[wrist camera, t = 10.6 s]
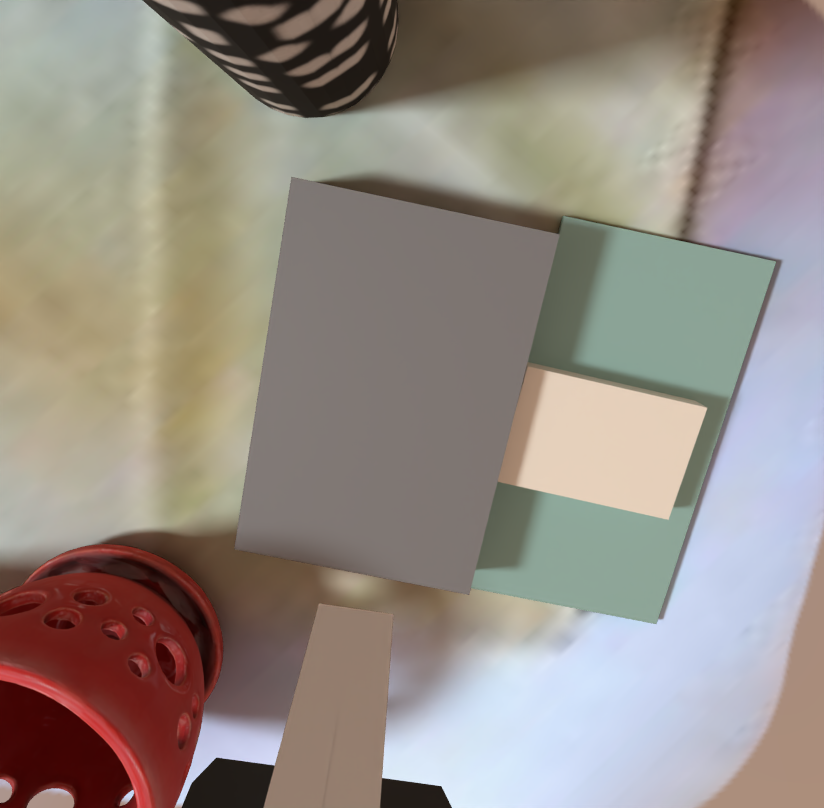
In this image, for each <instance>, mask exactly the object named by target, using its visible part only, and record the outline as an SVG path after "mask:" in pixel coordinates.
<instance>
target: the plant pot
mask: <svg viewBox="0 0 824 808" xmlns="http://www.w3.org/2000/svg"><path fill="white" fill-rule="evenodd" d="M222 661H223V639H222V632H221V629H220V625H219V621H218V618H217V615H216V613H215V611H214V608H213V606H212V604H211V602H210V601H209V599H208V598H207V596H206V594H205V593H204V591H203V590H202V589H201V587H200V586H199V585H198V584H197V583H196V582H195V581H194V580H193V579H192V578H191V577H189V576H188V575H187V574H186V573H185V572H183V571H182V570H181V569H179V568H178V567H177V566H175V565H174V564H172V563H170V562H169V561H167V560H165V559H163V558H161V557H159V556H157V555H154V554H152V553H150V552H147V551H143V550H140V549H137V548H133V547H129V546H122V545H109V544H100V545H89V546H85V547H80V548H76V549H73V550H70V551H67V552H65V553H63V554H60V555H58V556H56V557H54V558H53V559H51V560H49V561H47V562H46V563H45V564H43V565H42V566H41V567H39V568H38V569H37V570H36V571H35V572H34V573H33V574H31V575H30V576H29V578H28V579H27V580H26V581H25V582H24V584H23V585H22V586H19V587H16V588H14V589H12V590H9V591H7V592H5V593H3V594H1V595H0V779H4V780H6V781H7V782H9V783H10V785H11V786H12V795H11V798H10V799H9V800H8V801H6V802H4V803H0V808H26V807H27V805H28V803H29V801H30V800H31V799H32V798H33V797H34V796H35V795H36V794H38V793H39V792H41V791H44V790H46V789H51V788H59V789H63V790H66V791H68V792H69V793H70V794H71V795H72V796H73V798H74V807H73V808H174V807H175V805H176V803H177V800H178V798H179V796H180V793H181V791H182V788H183V785H184V783H185V780H186V777H187V775H188V772H189V769H190V766H191V763H192V759H193V755H194V751H195V748H196V744H197V741H198V737H199V733H200V729H201V723H202V716H203V707H204V703H205V701H206V700H207V699H208V697H209V696H210V694H211V692H212V691H213V689H214V687H215V685H216V683H217V680H218V678H219V674H220V671H221V666H222ZM131 790H134V795H133V797H132V798H131V800H130V801H129V802H128V803H127V804H125V805H123V806H119V805H120V802H121V800H122V799H123V798H124V796H125V795H126V794H127V793H128V792H130V791H131Z"/></svg>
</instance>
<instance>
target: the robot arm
mask: <svg viewBox="0 0 824 808" xmlns="http://www.w3.org/2000/svg"><path fill="white" fill-rule="evenodd" d="M392 628H393V614H389V613H382V612H375V611H369V610H362V609H355V608H348V607H341V606H334V605H327V604H320V603H319V605H318V609H317V612H316V616H315V620H314V623H313V627H312V631H311V634H310V638H309V642H308V645H307V649H306V653H305V657H304V660H303V664H302V668H301V671H300V675H299V679H298V682H297V686H296V690H295V693H294V697H293V701H292V704H291V708H290V712H289V716H288V719H287V723H286V727H285V730H284V734H283V738H282V741H281V745H280V749H279V752H278V756H277V760H276V763H275V766H273V765H266V764H259V763H251V762H244V761H237V760H229V759H222V758H216V759H215V760H214V761H213V762H212V763H211V764H210V765H209V766H208V767H207V768H206V769H205V770H204V771H203V772H202V773H201V774H200V775H199V776H198V777H197V778H196V779H195V780H194V781H193V782H192V784H191V786H190V789H189V791H188V794H187V796H186V799H185V801H184V803H183V806H182V808H452V807H451V805H450V803H449V801H448V799H447V797H446V795H445V793H444V791H443V789H442V787H441V786H435V785H428V784H421V783H414V782H406V781H399V780H392V779H384V778H382V770H383V756H384V742H385V727H386V713H387V699H388V685H389V671H390V656H391V642H392Z"/></svg>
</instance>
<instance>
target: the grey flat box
mask: <svg viewBox="0 0 824 808" xmlns="http://www.w3.org/2000/svg"><path fill="white" fill-rule="evenodd" d="M559 236H560V234H556V233H551V232H546V231H542V230H537V229H532V228H528V227H523V226H518V225H514V224H509V223H504V222H500V221H495V220H490V219H486V218H481V217H476V216H472V215H467V214H462V213H458V212H453V211H448V210H443V209H439V208H434V207H429V206H425V205H420V204H415V203H411V202H406V201H401V200H397V199H392V198H387V197H383V196H378V195H373V194H369V193H364V192H359V191H355V190H350V189H345V188H341V187H336V186H331V185H327V184H322V183H317V182H313V181H308V180H303V179H299V178H294V177H291V183H290V190H289V196H288V203H287V209H286V216H285V222H284V229H283V235H282V242H281V248H280V255H279V261H278V268H277V274H276V281H275V287H274V294H273V301H272V307H271V314H270V320H269V327H268V333H267V340H266V346H265V353H264V359H263V366H262V372H261V379H260V385H259V392H258V398H257V405H256V411H255V418H254V424H253V431H252V437H251V444H250V450H249V457H248V463H247V470H246V476H245V483H244V489H243V496H242V502H241V509H240V515H239V522H238V528H237V535H236V541H235V548H234V549H236V550H241V551H246V552H251V553H256V554H261V555H267V556H272V557H277V558H282V559H287V560H292V561H297V562H303V563H308V564H313V565H318V566H323V567H328V568H334V569H339V570H344V571H349V572H354V573H359V574H364V575H370V576H375V577H380V578H385V579H390V580H395V581H401V582H406V583H411V584H416V585H421V586H426V587H431V588H437V589H442V590H447V591H452V592H457V593H462V594H468V595H469V593H470V589H471V585H472V582H473V578H474V574H475V570H476V566H477V562H478V558H479V554H480V550H481V546H482V542H483V538H484V534H485V530H486V526H487V522H488V518H489V514H490V510H491V506H492V502H493V498H494V494H495V490H496V486H497V482H498V478H499V474H500V470H501V466H502V462H503V458H504V454H505V450H506V446H507V442H508V438H509V434H510V430H511V426H512V422H513V418H514V414H515V411H516V407H517V403H518V399H519V395H520V391H521V387H522V383H523V379H524V375H525V371H526V367H527V363H528V359H529V355H530V351H531V347H532V343H533V339H534V335H535V331H536V327H537V323H538V319H539V315H540V311H541V307H542V303H543V299H544V295H545V291H546V287H547V283H548V279H549V275H550V271H551V267H552V263H553V259H554V255H555V251H556V247H557V243H558V240H559Z"/></svg>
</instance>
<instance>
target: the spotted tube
mask: <svg viewBox="0 0 824 808" xmlns="http://www.w3.org/2000/svg"><path fill="white" fill-rule="evenodd" d="M143 1H144V2H145V3H146V4H147V5H149V6H150V7H151V8H152V9H153V10H154V11H156V12H157V13H158V14H159V15H160V16H161V17H162V18H164V19H165V20H166V21H167V22H168V23H169V24H170V25H172V26H173V27H174V28H175V29H176V30H177V31H179V32H180V33H181V34H182V35H183V36H184V37H185V38H187V39H188V40H189V41H190V42H191V43H192V44H194V45H195V46H196V47H197V48H198V49H199V50H200V51H202V52H203V53H204V54H205V55H206V56H207V57H208V58H210V59H211V60H212V61H213V62H214V63H215V64H217V65H218V66H219V67H220V68H221V69H222V70H223V71H225V72H226V73H227V74H228V75H229V76H230V77H232V78H233V79H234V80H235V81H236V82H237V83H238V84H240V85H241V86H242V87H243V88H244V89H245V90H246V91H248V92H249V93H250V94H251V95H252V96H253V97H255V98H256V99H257V100H259V101H260V102H262V103H263V104H265V105H267V106H268V107H270V108H271V109H274V110H277V111H279V112H282V113H284V114H287V115H292V116H298V117H304V118H309V117H324V116H328V115H331V114H335V113H339V112H341V111H343V110H345V109H347V108H349V107H351V106H353V105H355V104H356V103H357V102H359V101H360V100H361V99H362V98H364V97H365V96H366V95H367V94H368V93H370V91H371V90H372V89H373V88H374V86H375V85H376V84H377V83H378V82H379V80H380V79H381V78H382V76H383V74H384V72H385V70H386V68H387V67H388V65H389V63H390V60H391V57H392V54H393V51H394V48H395V45H396V39H397V31H398V4H397V0H143Z"/></svg>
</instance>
